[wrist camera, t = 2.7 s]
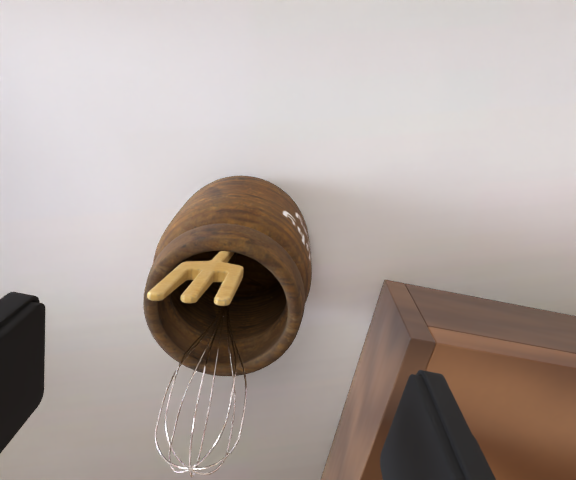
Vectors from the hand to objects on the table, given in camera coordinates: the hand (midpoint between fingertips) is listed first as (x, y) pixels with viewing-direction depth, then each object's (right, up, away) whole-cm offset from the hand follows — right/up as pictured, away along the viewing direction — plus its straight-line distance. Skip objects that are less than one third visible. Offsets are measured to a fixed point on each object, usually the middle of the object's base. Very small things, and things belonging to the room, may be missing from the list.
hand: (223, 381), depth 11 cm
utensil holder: (0, +4, +9) cm, 10 cm away
